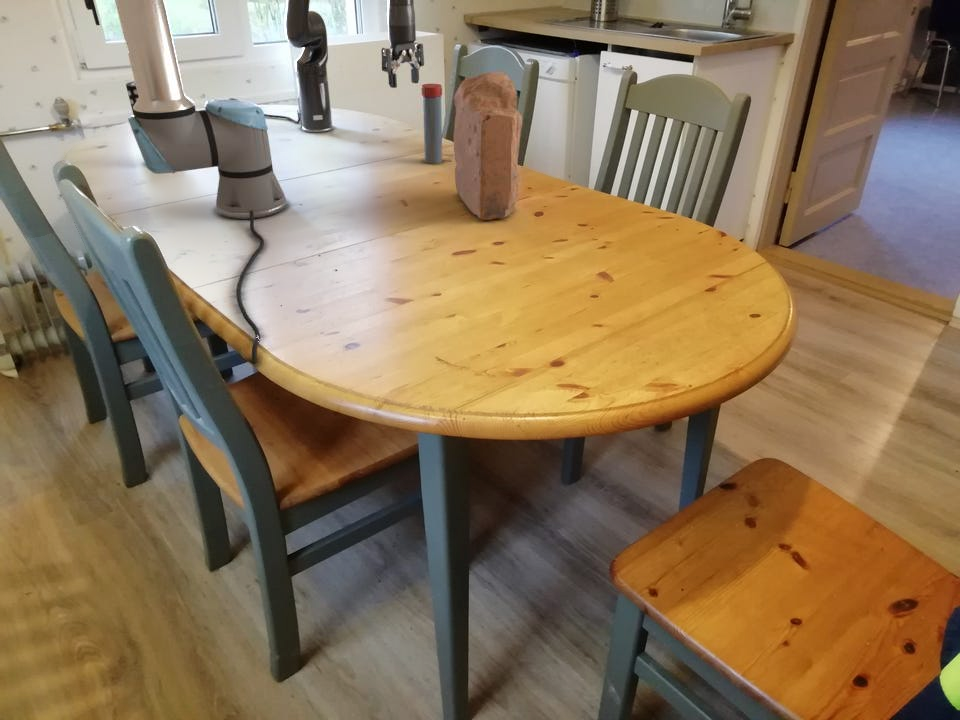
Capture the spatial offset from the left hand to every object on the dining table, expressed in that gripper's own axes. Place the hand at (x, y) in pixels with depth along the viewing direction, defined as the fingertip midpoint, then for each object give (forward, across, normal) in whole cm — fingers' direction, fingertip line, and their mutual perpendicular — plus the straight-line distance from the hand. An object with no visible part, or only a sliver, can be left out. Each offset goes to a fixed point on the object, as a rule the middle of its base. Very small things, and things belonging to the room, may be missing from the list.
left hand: (128, 23), depth 171 cm
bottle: (+34, -66, +36) cm, 82 cm away
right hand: (+18, -67, +14) cm, 71 cm away
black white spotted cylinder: (+24, 0, +3) cm, 24 cm away
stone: (+34, -62, +72) cm, 101 cm away
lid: (+14, -66, +36) cm, 76 cm away
